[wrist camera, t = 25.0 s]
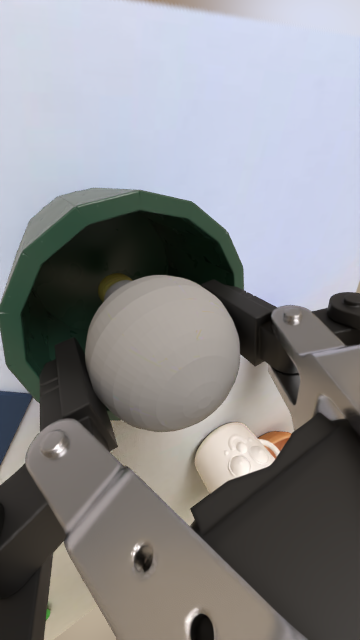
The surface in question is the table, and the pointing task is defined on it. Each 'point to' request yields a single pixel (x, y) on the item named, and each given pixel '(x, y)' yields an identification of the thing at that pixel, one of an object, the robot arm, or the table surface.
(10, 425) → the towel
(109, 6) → the table surface
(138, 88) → the table surface
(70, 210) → the tin
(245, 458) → the mug
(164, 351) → the light bulb
